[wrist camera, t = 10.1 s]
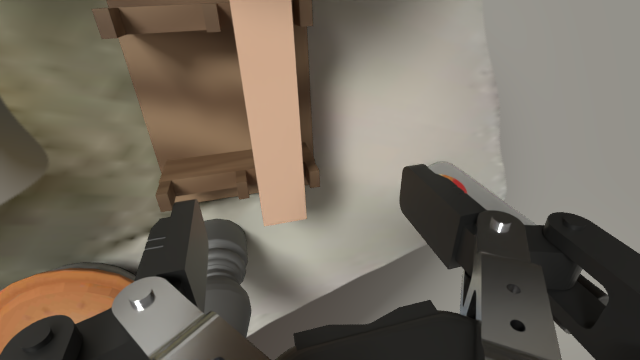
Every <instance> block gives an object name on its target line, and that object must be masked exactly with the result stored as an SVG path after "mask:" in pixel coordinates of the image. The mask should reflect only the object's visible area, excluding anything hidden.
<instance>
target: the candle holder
mask: <svg viewBox="0 0 640 360" xmlns="http://www.w3.org/2000/svg"><path fill="white" fill-rule="evenodd" d="M204 224H205V228H206V232H207V236H208V244H209V252H208V267H207V281H206V296H205V310H204V314H205V315H206V314H207V313H208V312H210V311H213V312H215V313H217V314H218V315H219V316H221V317H222V318H223V319H224V320H225V321H226V322H228V323H229V324H230V325H231V326H232V327H233V328H235V329H236V330H237V331H238V332H239V333H240V334H242V335H243V336H244V337H245V338H246V336H247V331H248V326H249V322H250V317H251V305H250V300H249V296H248V294H247V292H246V291H245V290H244V289H243V288H242V287H241V286H240V284H241V283H242V282H243V279H244V276H245V273H246V265H247V262H248V258H247V245H246V238H245V233H244V231H243V230H242V229H241V228H240V227H239V225H237V224H235V223H233V222H231V221H229V220H223V219H213V220H207V221H204Z"/></svg>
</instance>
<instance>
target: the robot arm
mask: <svg viewBox="0 0 640 360" xmlns="http://www.w3.org/2000/svg"><path fill="white" fill-rule="evenodd" d="M400 207H401V210H402V212H403V214H404V215H405V216H406V218H407V219H408V220H409V221H410V223H411V224H412V225H413V226H414V227H415V229H416V230H417V231H418V232H419V234H420V235H421V236H422V237H423V239H424V240H425V241H426V242H427V244H428V245H429V246H430V247H431V248H432V250H433V251H434V252H435V253H436V255H437V256H438V257H439V258H440V260H441V261H442V262H443V263H444V265H445V266H446V267H447V268H448V269H452V268H457V267H463V269H464V271H463V276H462V288H461V302H460V314H458V313H453V312H448V311H438V310H436V308H435V306H434V305H433V304H432V302H431V300H428V301H424V302H419V303H415V304H412V305H408V306H403V307H399V308H397V309H396V310H394V311H392V312H390V313H388V314H386V315H385V316H383V317H381V318H379V319H377V320H376V321H374V322H372V323H370V324H365V325H327V326H323V327H319V328H315V329H311V330H307V331H302V332H299V333H294V342H295V346H294V347H292V348H290V349H288V350H287V351H286V352H284V353H283V354H281V355H280V356H279V357H278V358H277V359H275V360H562V358H561V354H560V349H559V344H558V340H557V335H556V330H555V326H554V321H553V316H552V314H553V315H554V316H555V317H556V318H557V319H558V320H559V321H560V323H561V324H562V325H563V326H564V327H565V328H566V329H567V330H568V331H569V332H570V333H571V334H572V335H573V336H574V337H575V338H576V339H577V340H578V342H579V343H581V345H582V346H583V347H584V348H585V349H586V350H587V351H588V352H589V353H590V354H591V355H592V356H593V357H594V358H595V359H596V360H640V254H639V253H637V252H636V251H634V250H633V249H631V248H630V247H628V246H627V245H625V244H624V243H622V242H621V241H619V240H618V239H616V238H615V237H613V236H612V235H610V234H609V233H607V232H606V231H604V230H603V229H601V228H600V227H598V226H597V225H595V224H594V223H592V222H591V221H589V220H587V219H585V218H583V217H581V216H578V215H575V214H571V213H564V212H557V213H552V214H550V215H549V216H548V218H547V221H546V223H545V225H524V224H523V223H522V222H521V220H519V219H518V218H517V217H515V216H513V215H511V214H509V213H506V212H502V211H496V210H488V211H487V210H486V209H485V208H484V207H482V206H481V205H480V204H479V203H478V202H476V201H475V200H474V199H473V198H472V197H470V196H469V195H468V194H467V193H464V191H463V190H462V189H461V188H459V187H458V186H457V185H456V184H455V183H453V182H452V181H451V180H450V179H448V178H446V177H444V176H441V175H439V174H435V173H434V172H433V171H432V170H431V169H429V168H428V167H427V166H426V165H424V164H419V165H413V166H406V167H404V169H403V172H402V181H401V190H400ZM208 252H209V244H208V236H207V232H206V228H205V224H204V221H203V217H202V213H201V210H200V206H199V203H198V200H197V199H192V200H186V201H180V202H175V203H174V205H173V209H172V213H171V217H168V218H162V219H160V220H159V221H158V222H157V223H156V224H155V225H154V226H153V227H152V228H151V231H150V234H149V237H148V242H147V243H146V246H145V251H144V252H143V255H142V259H141V262H140V265H139V268H138V271H137V274H136V277H135V280H134V282H133V283H131V284H129V285H128V286H126V287H125V288H124V289H123V290H121V292H120V293H119V294H118V295H117V296H116V297H115V299H114V301H113V304H112V307H111V308H109V309H108V310H106V311H104V312H102V313H99V314H97V315H95V316H92V317H90V318H88V319H86V320H83V321H81V322H79V323H76V324H75V323H74V322H73V320H72V319H71V318H70V317H68V316H65V315H54V316H49V317H46V318H43V319H41V320H38V321H36V322H34V323H32V324H30V325H29V326H27V327H25V328H24V329H23V330H21V331H20V332H19V333H17V334H16V335H15V336H14V337H13V338H12V339H11V340H10V341H9V342H8V343H7V345H6V346H5V347H4V349H3V351H2V352H1V354H0V360H271V359H269V358H268V357H267V356H266V355H265V354H264V353H262V352H261V351H260V350H259V349H258V348H257V347H255V346H254V345H253V344H252V343H251V342H249V340H247V339H246V338H245V337H244V336H243V335H242V334H240V333H239V332H238V331H237V330H236V329H235V328H233V327H232V326H231V325H230V324H229V323H228V322H226V321H225V320H224V319H223V318H222V317H221V316H219V315H218V314H217V313H215V312H213V311H210V312H208V313H207V314H206V315H205V314H204V310H205V296H206V281H207V267H208ZM582 269H584V270H585V271H586V272H587V273H588V274H590V275H591V276H592V277H593V278H594V279H596V280H597V281H598V282H599V283H600V284H602V285H603V286H604V288H605V289H606V291H607V293H608V296H609V301H608V304H607V305H606V306H605V305H604V304H603V303H602V302H601V301H600V300H598V299H597V298H596V297H595V296H594V295H593V294H592V293H590V292H589V291H588V290H587V289H586V288H585V287H584V286H582V285H581V284H580V283H579V282H578V281H577V278H578V276H579V274H580V273H581V271H582Z"/></svg>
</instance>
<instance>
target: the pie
mask: <svg viewBox="0 0 640 360" xmlns="http://www.w3.org/2000/svg"><path fill="white" fill-rule="evenodd" d="M135 277H136V276H135V275H134V274H132V273H130V272H128V271H126V270H124V269H121V268H119V267H116V266H111V265H107V264H103V263H77V264H70V265H64V266H62V267H59V268H56V269H54V270H51V271H47V272H43V273H39V274H36V275H33V276H31V277H28V278H25V279H23V280H20V281H17V282H15V283H12V284H10V285H9V286H7V287H6V288H4V289H3V290H1V291H0V354H1V352H2V351H3V349H4V347H5V346H6V345H7V343H8V342H9V341H10V340H11V339H12V338H13V337H14V336H15V335H16V334H17V333H19V332H20V331H21V330H23V329H24V328H25V327H27V326H29V325H30V324H32V323H34V322H36V321H38V320H41V319H43V318H46V317H49V316H54V315H65V316H68V317H70V318H71V319H72V320H73V322H74V323H75V324H76V323H79V322H81V321H83V320H86V319H88V318H90V317H92V316H95V315H97V314H99V313H102V312H104V311H106V310H108V309H109V308H111V307H112V304H113V301H114V299H115V297H116V296H117V295H118V294H119V293H120V292H121V290H123V289H124V288H125V287H126V286H128V285H129V284H131V283H133V282H134V280H135Z"/></svg>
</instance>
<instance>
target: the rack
mask: <svg viewBox="0 0 640 360" xmlns="http://www.w3.org/2000/svg"><path fill="white" fill-rule="evenodd" d="M106 1H107V4H108V7H109V8H99V9H92V12H93V15H94V17H95V20H96V23H97V26H98V29H99V32H100V35H101V38H102V39H109V38H119V41H120V45H121V48H122V51H123V54H124V57H125V60H126V63H127V66H128V70H129V73H130V76H131V79H132V82H133V85H134V88H135V92H136V95H137V98H138V101H139V104H140V107H141V110H142V114H143V117H144V120H145V123H146V126H147V129H148V132H149V135H150V139H151V142H152V145H153V148H154V151H155V154H156V157H157V161H158V164H159V167H160V170H161V173H162V175H161V178H160V180H159V187H158V189H157V192H156V198H157V201H158V204H159V207H160V210H161V212H164V211H171V210H172V209H173V205H174V203H175V202H180V201H186V200H192V199H197V200H198V202H203V201H209V200H215V199H221V198H228V197H234V196H239V199H245V198H249V194H253V193H259V191H258V184H257V178H256V171H255V165H254V158H253V152H252V145H251V139H250V132H249V126H248V119H247V113H246V106H245V100H244V93H243V87H242V80H241V74H240V67H239V61H238V54H237V48H236V41H235V35H234V28H233V22H232V15H231V9H230V2H229V0H106ZM291 3H292V17H293V31H294V45H295V59H296V74H297V88H298V102H299V116H300V130H301V145H302V159H303V173H304V185H309V186H310V188H314V187H320V178H319V169H318V167H317V165H316V164H315V159H314V156H313V137H312V117H311V98H310V79H309V59H308V40H307V26H313V15H312V0H291Z"/></svg>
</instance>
